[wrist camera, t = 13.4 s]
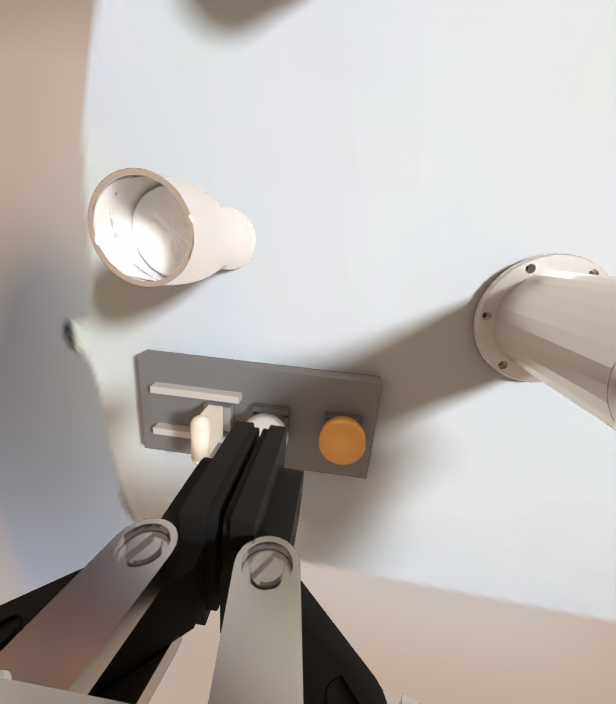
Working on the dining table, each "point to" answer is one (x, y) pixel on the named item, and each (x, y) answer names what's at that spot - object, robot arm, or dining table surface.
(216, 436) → the lever
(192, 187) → the tall white cup
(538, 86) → the dining table surface
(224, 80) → the dining table surface
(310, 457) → the panel
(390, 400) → the dining table surface
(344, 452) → the orange button
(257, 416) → the white rounded thick disc
